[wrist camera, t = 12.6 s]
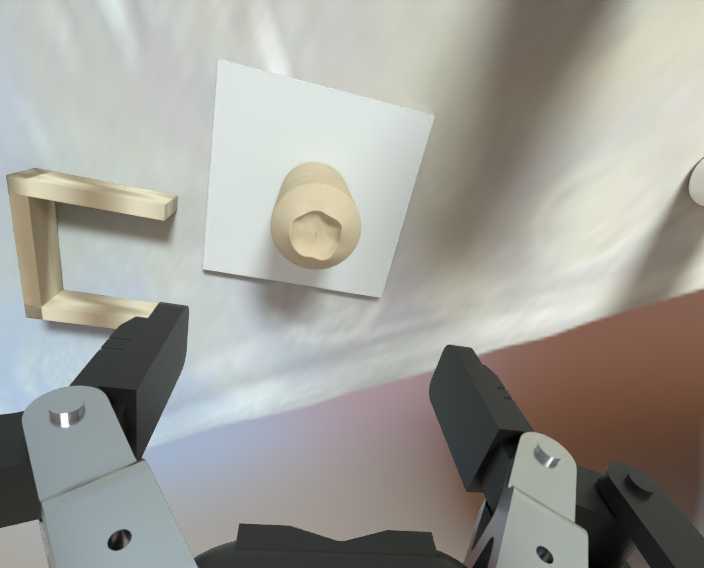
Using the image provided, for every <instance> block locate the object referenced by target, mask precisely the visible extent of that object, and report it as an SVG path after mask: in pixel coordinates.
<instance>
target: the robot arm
mask: <svg viewBox="0 0 704 568" xmlns="http://www.w3.org/2000/svg"><path fill="white" fill-rule="evenodd" d="M188 320H189V308H188V306H185V305H178V304H171V303H164V302H160V303H158V305H157V306H156V307H155V309H154V310H153V312H152V313H151V314H150V316H149V317H148V318H145V317H137V316H136V317H134V318H132V319H130V320H128V321H126V322H125V323H123V324H121V325H119V326H118V328H117V329H116V330H115V331H114V333H113V334H112V335H111V336H110V338H109V340H107V341H106V342H105V343H104V345H103V346H102V347H101V350H99V351H98V352H97V353H96V354H95V355H94V357H93V358H92V359H91V360H90V362H89V363H88V364H87V365H86V366H85V368H84V369H83V370H82V371H81V372H80V374H79V375H78V376H77V377H76V378H75V380H74V381H73V382H72V383H71V384H70V386H69V387H64V388H59V389H56V390H53V391H50V392H48V393H46V394H44V395H42V396H40V397H39V398H37V399H36V400H34V401H33V402H32V403H31V404H30V405H29V406H28V407H27V408H26V409H25V411H22V412H17V413H11V414H3V415H0V528H2V527H6V526H11V525H15V524H19V523H23V522H28V521H32V520H37V519H38V520H39V524H40V529H41V534H42V538H43V543H44V547H45V552H46V557H47V561H48V566H49V568H631V567H630V565H629V564H628V562H627V561H626V560H627V559H628V558H629V557H630V556H631V555H632V553H633V552H634V551H635V550H636V549H637V548H638V550H639V551H640V553H641V554H642V555H643V557H644V558H645V560H646V561H647V563H648V564H649V566H650V567H651V568H704V538H703V536H702V535H701V534H700V533H699V532H698V530H697V529H696V528H695V527H694V526H693V525H692V523H691V522H690V521H689V520H688V519H687V517H686V516H685V515H684V514H683V513H682V512H681V510H680V509H679V508H678V507H677V506H676V504H675V503H674V502H673V501H672V500H671V499H670V497H669V496H668V495H667V494H666V493H665V491H664V490H663V489H662V488H661V487H660V486H659V485H658V484H657V483H656V482H655V481H654V480H653V479H651V478H650V477H649V476H647V475H646V474H645V473H643V472H642V471H640V470H638V469H637V468H635V467H633V466H630V465H628V464H625V463H621V462H612V463H610V464H609V465H608V467H607V468H606V469H605V471H604V472H603V474H600V473H597V472H595V471H592V470H589V469H586V468H583V467H581V466H578V465H576V464H575V461H574V459H573V458H572V457H571V455H570V454H569V453H568V451H567V450H566V449H565V448H563V447H562V446H561V445H560V444H559V443H557V442H556V441H554V440H553V439H551V438H549V437H547V436H545V435H543V434H540V433H535V432H534V430H533V429H532V427H531V426H530V424H529V423H528V421H527V420H526V418H525V417H524V415H523V414H522V412H521V411H520V409H519V408H518V407H517V405H516V403H515V402H514V401H513V400H512V398H511V396H510V394H509V393H508V391H507V390H505V387H504V386H503V384H502V383H501V381H500V379H499V378H498V377H497V375H495V374H494V373H493V372H492V371H491V370H490V369H489V368H488V367H486V366H485V365H482V363H481V362H480V360H479V358H478V357H477V355H476V354H475V352H474V351H473V349H472V348H469V347H462V346H455V345H447V346H446V347H445V348H444V350H443V352H442V355H441V357H440V360H439V362H438V365H437V367H436V370H435V372H434V375H433V377H432V380H431V383H430V388H429V389H430V390H429V396H430V401H431V404H432V406H433V408H434V411H435V414H436V416H437V419H438V421H439V424H440V426H441V429H442V431H443V434H444V436H445V439H446V441H447V444H448V447H449V449H450V452H451V454H452V457H453V459H454V462H455V464H456V467H457V469H458V472H459V474H460V477H461V479H462V482H463V484H464V487H465V489H466V492H482V493H484V495H485V498H486V499H485V501H484V502H483V504H482V506H481V508H480V512H479V515H478V518H477V521H476V524H475V528H474V531H473V534H472V537H471V540H470V544H469V547H468V550H467V553H466V556H465V559H464V562H463V563H461V562H459V561H458V560H456V559H455V558H453V557H451V556H449V555H447V554H445V553H443V552H441V551H437V550H436V547H435V544H434V540H433V536H432V533H431V532H415V531H393V530H386V531H383V532H379V533H375V534H371V535H367V536H363V537H359V538H355V539H351V540H347V541H336V540H333V539H330V538H327V537H323V536H320V535H317V534H314V533H311V532H308V531H304V530H301V529H298V528H295V527H292V526H282V525H260V524H259V525H258V524H239V530H238V535H237V541H234V542H230V543H226V544H223V545H220V546H217V547H215V548H212V549H210V550H208V551H206V552H204V553H202V554H200V555H198V556H197V557H195V558H193V556H192V554H191V552H190V550H189V548H188V546H187V543H186V541H185V539H184V537H183V535H182V533H181V531H180V529H179V527H178V525H177V523H176V520H175V518H174V516H173V514H172V512H171V510H170V508H169V506H168V504H167V502H166V499H165V497H164V495H163V493H162V491H161V489H160V487H159V485H158V483H157V481H156V478H155V476H154V474H153V472H152V470H151V468H150V466H149V464H148V463H147V461H146V460H145V459H141V458H142V455H143V453H144V451H145V449H146V447H147V445H148V443H149V440H150V438H151V436H152V434H153V432H154V430H155V427H156V425H157V423H158V421H159V419H160V417H161V415H162V412H163V410H164V408H165V406H166V404H167V402H168V399H169V397H170V395H171V393H172V391H173V389H174V387H175V384H176V382H177V380H178V378H179V376H180V374H181V371H182V369H183V366H184V362H185V357H186V351H187V336H188Z"/></svg>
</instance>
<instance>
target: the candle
mask: <svg viewBox="0 0 704 568" xmlns="http://www.w3.org/2000/svg"><path fill="white" fill-rule="evenodd" d="M360 233H361V219H360V215H359V212H358V210H357V207H356V205H355V202H354V200H353V198H352V195H351V193H350V191H349V189H348V186H347V184H346V182H345V180H344V178H343V177H342V176H341V174H340V173H339V172H338V171H337V170H335V169H334V168H333V167H331V166H329V165H327V164H324V163H320V162H307V163H303V164H301V165H298V166H297V167H295V168H294V169H292V170H291V171H290V172H289V173H288V174H287V176H286V177H285V179H284V181H283V183H282V185H281V188H280V191H279V194H278V197H277V200H276V204H275V207H274V210H273V213H272V217H271V234H272V238H273V241H274V244H275V245H276V247H277V249H278V250H279V252H280V253H281V254H282V255H283V256H284V257H285V258H286V259H287V260H288V261H290V262H291V263H293V264H295V265H297V266H299V267H302V268H306V269H313V270H321V269H327V268H330V267H333V266H336V265H338V264H339V263H341V262H343V261H344V260H345V259H346V258H348V257H349V256H350V254H351V253H352V252H353V251H354V249H355V248H356V246H357V244H358V241H359V238H360Z"/></svg>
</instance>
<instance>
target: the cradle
mask: <svg viewBox="0 0 704 568" xmlns="http://www.w3.org/2000/svg"><path fill="white" fill-rule="evenodd" d="M6 178H7V186H8V193H9V200H10V207H11V214H12V221H13V228H14V235H15V242H16V249H17V256H18V263H19V270H20V278H21V285H22V292H23V299H24V306H25V313H26V318H34V319H42V320H50V321H57V322H65V323H73V324H81V325H89V326H96V327H104V328H112V329H117V328H118V326H119V325H121V324H123V323H125V322H126V321H128V320H130V319H132V318H134V317H136V316H137V317H145V318H148V317H149V316H150V314H151V313H152V312H153V310H154V309H155V307H156V306H157V305H158V303H151V302H144V301H137V300H130V299H123V298H116V297H109V296H102V295H95V294H88V293H81V292H74V291H67V290H63V284H62V273H61V262H60V251H59V240H58V230H57V219H56V208H55V201H58V202H64V203H69V204H75V205H80V206H86V207H91V208H97V209H102V210H108V211H113V212H119V213H124V214H130V215H135V216H141V217H147V218H152V219H158V220H163V221H165V220H166V219H167V218H168V217H169V216H170V215H172V214H173V213H174V212H175V211H176V210H177V196H176V195H171V194H166V193H161V192H156V191H151V190H145V189H140V188H135V187H130V186H125V185H120V184H114V183H109V182H104V181H99V180H94V179H89V178H83V177H78V176H73V175H68V174H63V173H57V172H52V171H47V170H42V169H37V168H32V169H29V170H25V171H21V172H17V173H13V174H9V175H6Z"/></svg>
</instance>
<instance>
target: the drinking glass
mask: <svg viewBox="0 0 704 568" xmlns="http://www.w3.org/2000/svg"><path fill="white" fill-rule="evenodd" d="M689 194H690V196H691V198H692V200H693V201H694V202H695V203H697V204H699V205H701V206H703V207H704V158H703V159H702V160H701V161H700V162H699V164H698V165H697V166H696V168H695V169H694V171H693V173H692V175H691V177H690V181H689Z"/></svg>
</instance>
